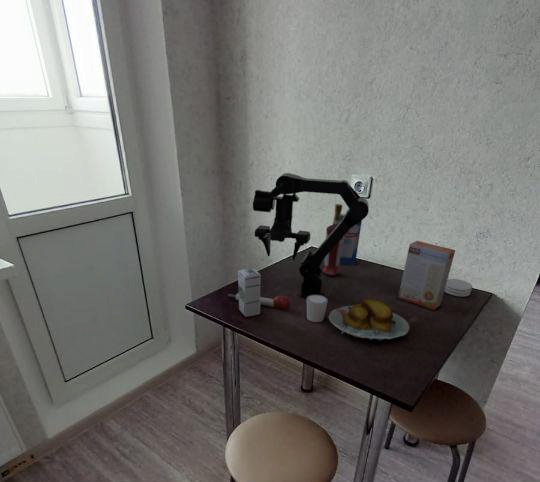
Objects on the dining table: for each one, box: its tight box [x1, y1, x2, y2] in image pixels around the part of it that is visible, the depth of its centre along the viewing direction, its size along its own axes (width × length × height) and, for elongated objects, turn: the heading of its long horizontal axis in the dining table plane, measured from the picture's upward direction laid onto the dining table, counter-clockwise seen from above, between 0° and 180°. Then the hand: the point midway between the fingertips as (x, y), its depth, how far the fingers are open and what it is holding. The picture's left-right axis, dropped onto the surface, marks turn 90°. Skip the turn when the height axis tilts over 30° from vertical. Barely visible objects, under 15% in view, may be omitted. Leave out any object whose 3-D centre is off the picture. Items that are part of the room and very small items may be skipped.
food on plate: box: [327, 298, 411, 341], centre depth 128 cm, size 25×25×7 cm
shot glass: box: [306, 294, 329, 323], centre depth 132 cm, size 7×7×7 cm
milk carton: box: [339, 213, 363, 266], centre depth 175 cm, size 10×6×20 cm, turn 81°
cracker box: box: [397, 240, 456, 311], centre depth 142 cm, size 14×6×21 cm, turn 47°
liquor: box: [322, 203, 344, 277], centre depth 160 cm, size 7×7×28 cm
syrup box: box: [237, 267, 262, 318], centre depth 132 cm, size 6×6×14 cm
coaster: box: [444, 278, 473, 298], centre depth 155 cm, size 10×10×4 cm
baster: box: [228, 292, 291, 310], centre depth 140 cm, size 22×4×4 cm, turn 73°
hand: (281, 257), depth 144 cm, fingers open, 9 cm apart
